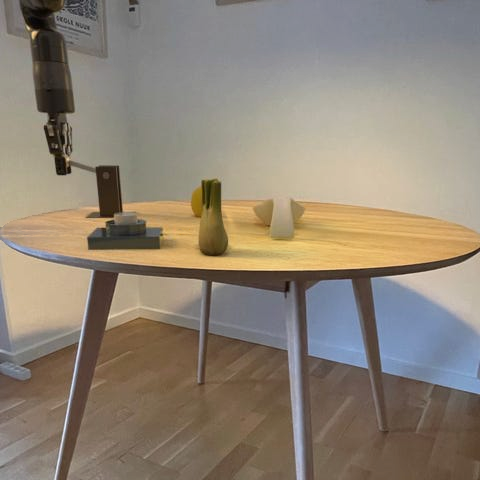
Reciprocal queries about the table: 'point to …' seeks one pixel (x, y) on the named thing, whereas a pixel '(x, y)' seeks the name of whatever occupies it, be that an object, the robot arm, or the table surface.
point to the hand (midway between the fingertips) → (64, 174)
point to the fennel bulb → (212, 220)
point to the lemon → (197, 201)
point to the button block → (125, 236)
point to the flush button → (125, 218)
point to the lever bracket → (108, 191)
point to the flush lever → (79, 165)
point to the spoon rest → (279, 216)
